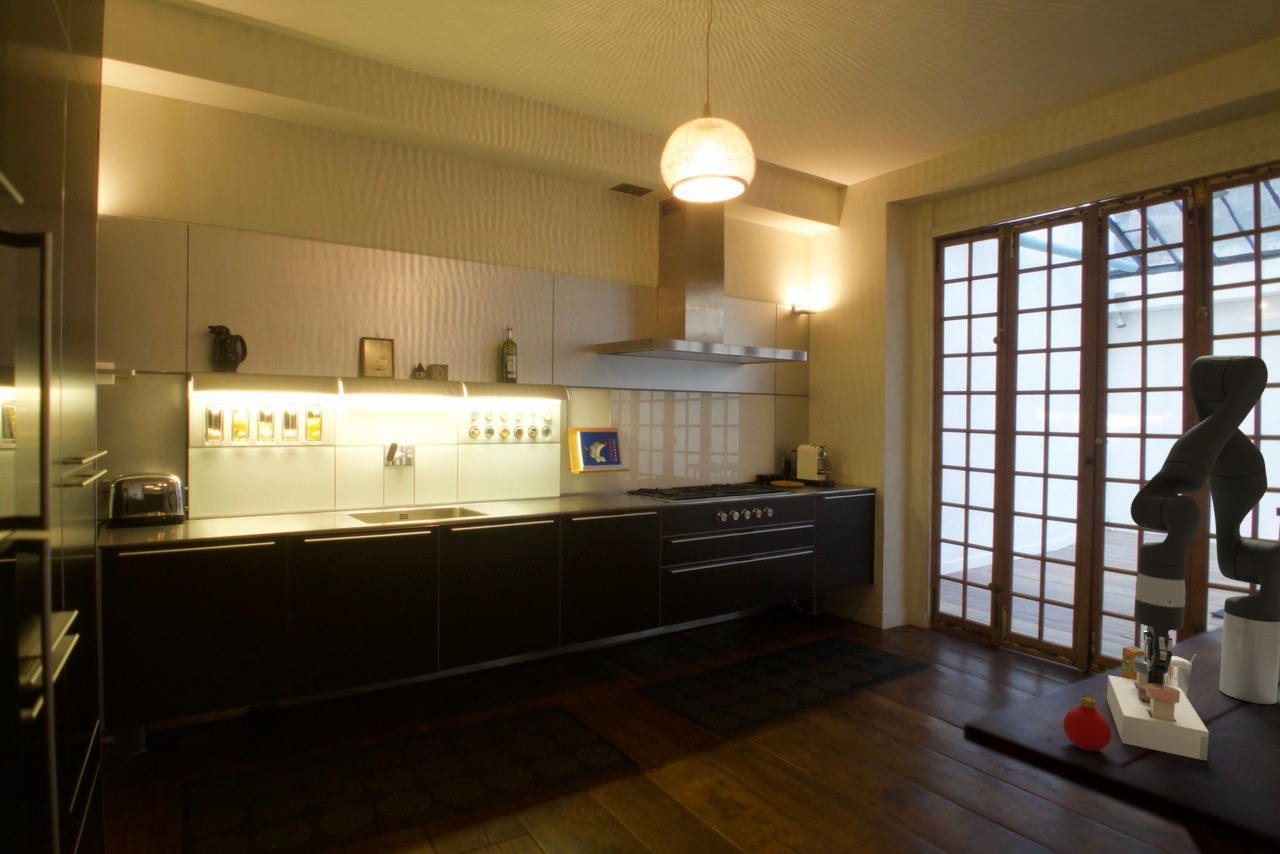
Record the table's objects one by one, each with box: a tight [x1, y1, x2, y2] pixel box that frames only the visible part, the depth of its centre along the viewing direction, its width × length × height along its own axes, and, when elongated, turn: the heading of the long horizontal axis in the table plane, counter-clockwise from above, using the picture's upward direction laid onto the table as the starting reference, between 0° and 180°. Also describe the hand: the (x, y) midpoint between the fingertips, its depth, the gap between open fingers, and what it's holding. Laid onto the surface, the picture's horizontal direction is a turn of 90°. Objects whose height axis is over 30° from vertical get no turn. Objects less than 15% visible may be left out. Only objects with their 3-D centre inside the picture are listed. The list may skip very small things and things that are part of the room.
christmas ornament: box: [1063, 691, 1112, 752], centre depth 122 cm, size 7×7×10 cm
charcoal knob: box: [1133, 658, 1148, 689], centre depth 138 cm, size 5×5×6 cm
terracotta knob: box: [1146, 684, 1180, 722], centre depth 125 cm, size 5×5×6 cm
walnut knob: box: [1138, 685, 1150, 703], centre depth 132 cm, size 5×5×6 cm
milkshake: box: [1164, 654, 1196, 697], centre depth 145 cm, size 4×5×10 cm
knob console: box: [1106, 674, 1210, 762], centre depth 132 cm, size 22×12×5 cm, turn 152°
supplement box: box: [1121, 646, 1145, 680], centre depth 147 cm, size 3×3×10 cm
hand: (1154, 690), depth 132 cm, fingers closed
